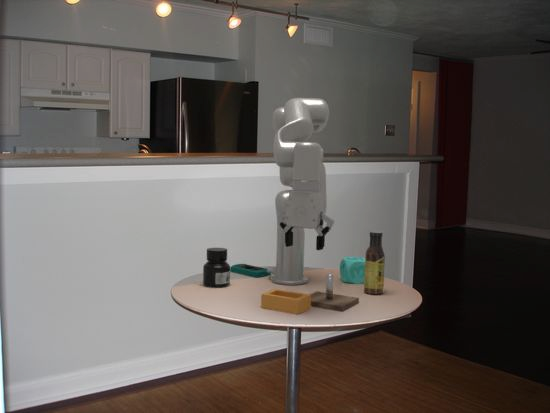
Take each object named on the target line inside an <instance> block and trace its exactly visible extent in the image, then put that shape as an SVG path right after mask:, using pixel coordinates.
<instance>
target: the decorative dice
mask: <svg viewBox="0 0 550 413" xmlns="http://www.w3.org/2000/svg"><path fill="white" fill-rule="evenodd" d="M365 260H366V258H364V257H358V256H346V257H343V258H342V259H341V261H340V264H339V275H340V279H341V281H342V282H344V283H347V284H352V283H353V285H355V284H357V285H359V284H364V275H365Z"/></svg>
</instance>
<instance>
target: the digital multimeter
mask: <svg viewBox="0 0 550 413" xmlns="http://www.w3.org/2000/svg"><path fill="white" fill-rule="evenodd" d="M267 268H268V267H260V266H256V265H253V264H251V265H250V264H247V263H237V264H233V265H231V266H230V273H235V274H238V275H244V276H247V277H252V278H256V279H259V278H265V277H269V276H271V275H272V273H267Z"/></svg>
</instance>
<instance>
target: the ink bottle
mask: <svg viewBox="0 0 550 413" xmlns="http://www.w3.org/2000/svg"><path fill="white" fill-rule="evenodd" d="M206 260H207V261H206V263H204V265H203V268H202V269H203V270H202V285H203V286H205V287H209V288H225V287H227V286H229V285H230V284H231V272H230V267H231V266H230V264H229V263H228V248H224V247H208V248H206Z"/></svg>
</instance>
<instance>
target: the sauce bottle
mask: <svg viewBox="0 0 550 413" xmlns="http://www.w3.org/2000/svg"><path fill="white" fill-rule="evenodd" d="M382 240H383V232H382V231H377V230H375V231H369V246H368V248H367V249H366V252H365V259H366V260H365V275H364V283H363V289H364V290H363V291H364V293H366V294H370V295H382V294H383V293H384V292H383V291H384V285H385V283H384V281H385V280H384V279H385V265H386V264H385V261H386V260H385V259H386V256H385V253H384V249H383V246H382V245H383V243H382Z"/></svg>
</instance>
